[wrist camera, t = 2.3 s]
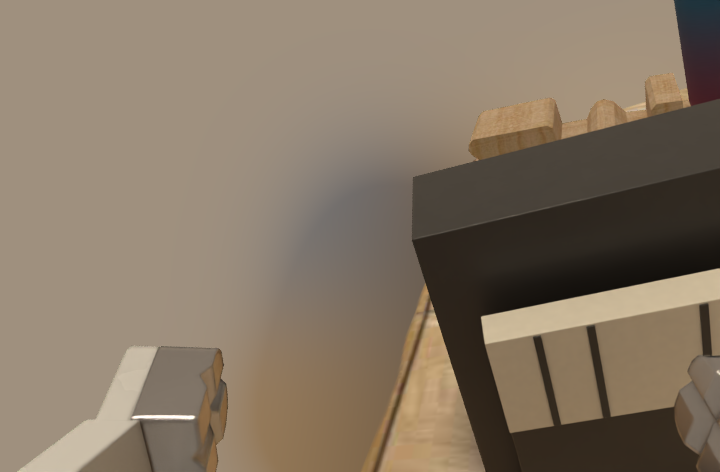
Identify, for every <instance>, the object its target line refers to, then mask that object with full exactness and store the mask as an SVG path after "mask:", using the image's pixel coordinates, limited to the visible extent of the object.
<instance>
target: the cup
mask: <svg viewBox="0 0 720 472" xmlns="http://www.w3.org/2000/svg"><path fill="white" fill-rule="evenodd" d="M674 3H675V9H676V16H677V22H678V29H679V36H680V42H681V49H682V56H683V62H684V69H685V76H686V83H687V89H688V96H689V102H690V105H691V106H693V105H697V104H701V103H705V102H709V101H713V100H717V99H720V0H674Z"/></svg>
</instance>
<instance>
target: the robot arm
mask: <svg viewBox="0 0 720 472" xmlns="http://www.w3.org/2000/svg"><path fill="white" fill-rule="evenodd" d="M223 366H224V364H223V358H222V352H221V350H220V349H218V348H193V347H167V346H165V347H164V346H161V347H148V346H131V347H130V348H129V349H128V350H127V351H126V352H125V354H124V356H123V359H122V361H121V363H120V365H119V367H118V370H117V372H116V374H115V376H114V379H113V381H112V383H111V385H110V388H109V390H108V392H107V395H106V397H105V399H104V401H103V404H102V406H101V408H100V410H99V412H98V415H97V417H96V419H95V420H85V421H84V422H83V423H81V424H80V425H79V426H77V427H76V428H75V429H73V430H72V431H71V432H69V433H68V434H67V435H65V436H64V437H63V438H61V439H60V440H59V441H57V442H56V443H55V444H53V445H52V446H51V447H49V448H48V449H47V450H45V451H44V452H43V453H41V454H40V455H39V456H38V457H36V458H35V459H34V460H32V461H31V462H29V463H28V464H27V465H25V466H24V467H23V468H21V469H20V470H19V471H17V472H216V468H217V464H218V455H217V448H216V445H217V444H218V443H219V442H220V441H221V440H222V439H223V437H224V432H225V427H226V419H227V409H228V397H227V387H226V383H225V382H224V381H223V380H222V379H221V374H222V370H223ZM687 372H688V374H689V376H690V378H691V380H692V381H691V382H690V383H688V384H687V385H686V386H684V387H683V388H681V389H680V390H679V392H678V395H677V398H676V401H675V404H674V415H675V423H676V427H677V430H678V433H679V435H680V437H681V439H682V441H683V443H684V444H685V445H686V446H687V447H689V448H690V449H691V450H692V451H694V452H695V453H696V454H698V455H699V457H698V461H697V464H696V468H697V470H698V472H720V355H698V356H697V357H695V358H694V359H693V360H692V361H691V364H690V366H689V368H688V371H687Z"/></svg>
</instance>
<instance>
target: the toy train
mask: <svg viewBox="0 0 720 472" xmlns="http://www.w3.org/2000/svg"><path fill="white" fill-rule="evenodd" d="M645 90H646V110H640V111H631V112H625V111H624V110H623V109H622V108H620V107H619V106H618V105H617V104H616V103H615V102H613V101H609V100H605V99H603V100H600V101H597V102H596V103H595V104H594V106H593V107H592V108H591V110H590V113H589V115H588V118H587V119H584V120H578V121H573V122H567V123H562V121H561V118H560V114H559V112H558V108H557V105H556V102H555V100H554V99H552V98H546V99H541V100H536V101H531V102H526V103H522V104H517V105H512V106H507V107H502V108H498V109H492V110H488V111H483V112H482V113H481V114H480V115H479V117H478V120H477V123H476V126H475V129H474V131H473V134H472V137H471V140H470V143H469V152H470V153H471V154H472V155H473V156H474V157H476V158H477V159H479V160H482V159H486V158H490V157H494V156H498V155H502V154H506V153H510V152H514V151H518V150H521V149H525V148H529V147H533V146H537V145H541V144H545V143H549V142H553V141H557V140H561V139H564V138H568V137H572V136H576V135H580V134H584V133H588V132H592V131H596V130H600V129H604V128H607V127H611V126H615V125H619V124H623V123H627V122H631V121H635V120H639V119H643V118H646V117H650V116H654V115H658V114H662V113H666V112H670V111H674V110H678V109H682V108H686V107H689V106H691V105H690V102H689V101H688V100H686V101H682V98H681V95H680V92H679V89H678V86H677V84H676V81H675V78H674V75H673V73H668V74H661V75H655V76H650V77H649V78H648V79H647V80H646V81H645Z"/></svg>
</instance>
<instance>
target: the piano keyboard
mask: <svg viewBox="0 0 720 472" xmlns="http://www.w3.org/2000/svg"><path fill="white" fill-rule="evenodd" d="M481 322H482V329H483V336H484V342H485V347H486V350H487V354H488V357H489V361H490V365H491V368H492V372H493V375H494V379H495V382H496V386H497V389H498V393H499V396H500V400H501V404H502V407H503V411H504V414H505V418H506V421H507V425H508V428H509V432H510V433H513V432H520V431H526V430H532V429H538V428H544V427H551V426H557V425H563V424H569V423H576V422H582V421H588V420H594V419H600V418H607V417H613V416H619V415H625V414H631V413H638V412H644V411H650V410H656V409H663V408H669V407H674V404H675V401H676V398H677V395H678V392H679V390H680V389H681V388H683V387H684V386H686V385H687V384H688V383H690V382H691V381H692V380H691V378H690V376H689V374H688V372H687V371H688V368H689V366H690V364H691V361H692V360H693V359H694V358H695V357H697V356H698V355H720V268H719V269H714V270H709V271H704V272H699V273H694V274H689V275H684V276H679V277H674V278H669V279H664V280H659V281H654V282H649V283H644V284H639V285H635V286H630V287H625V288H620V289H615V290H610V291H605V292H600V293H595V294H590V295H585V296H580V297H575V298H570V299H565V300H560V301H555V302H550V303H546V304H541V305H536V306H531V307H526V308H521V309H516V310H511V311H506V312H501V313H496V314H491V315H486V316H482V317H481Z"/></svg>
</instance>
